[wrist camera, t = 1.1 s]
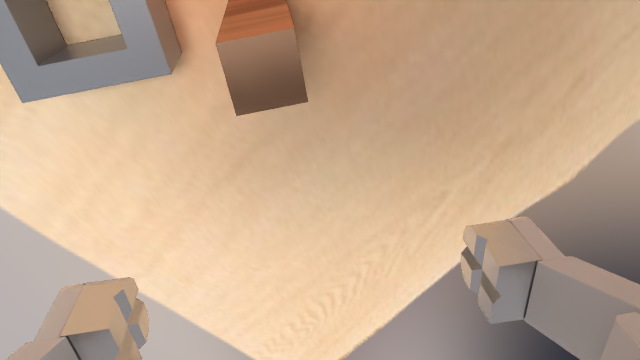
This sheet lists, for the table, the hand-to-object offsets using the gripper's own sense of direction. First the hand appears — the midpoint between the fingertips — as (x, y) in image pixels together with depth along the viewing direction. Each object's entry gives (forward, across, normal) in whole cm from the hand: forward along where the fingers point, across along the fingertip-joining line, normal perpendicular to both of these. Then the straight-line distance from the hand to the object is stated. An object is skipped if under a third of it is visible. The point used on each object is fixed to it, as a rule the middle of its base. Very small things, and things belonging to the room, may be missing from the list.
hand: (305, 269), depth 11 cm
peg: (+27, 0, -1) cm, 27 cm away
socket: (+27, +12, -4) cm, 30 cm away
